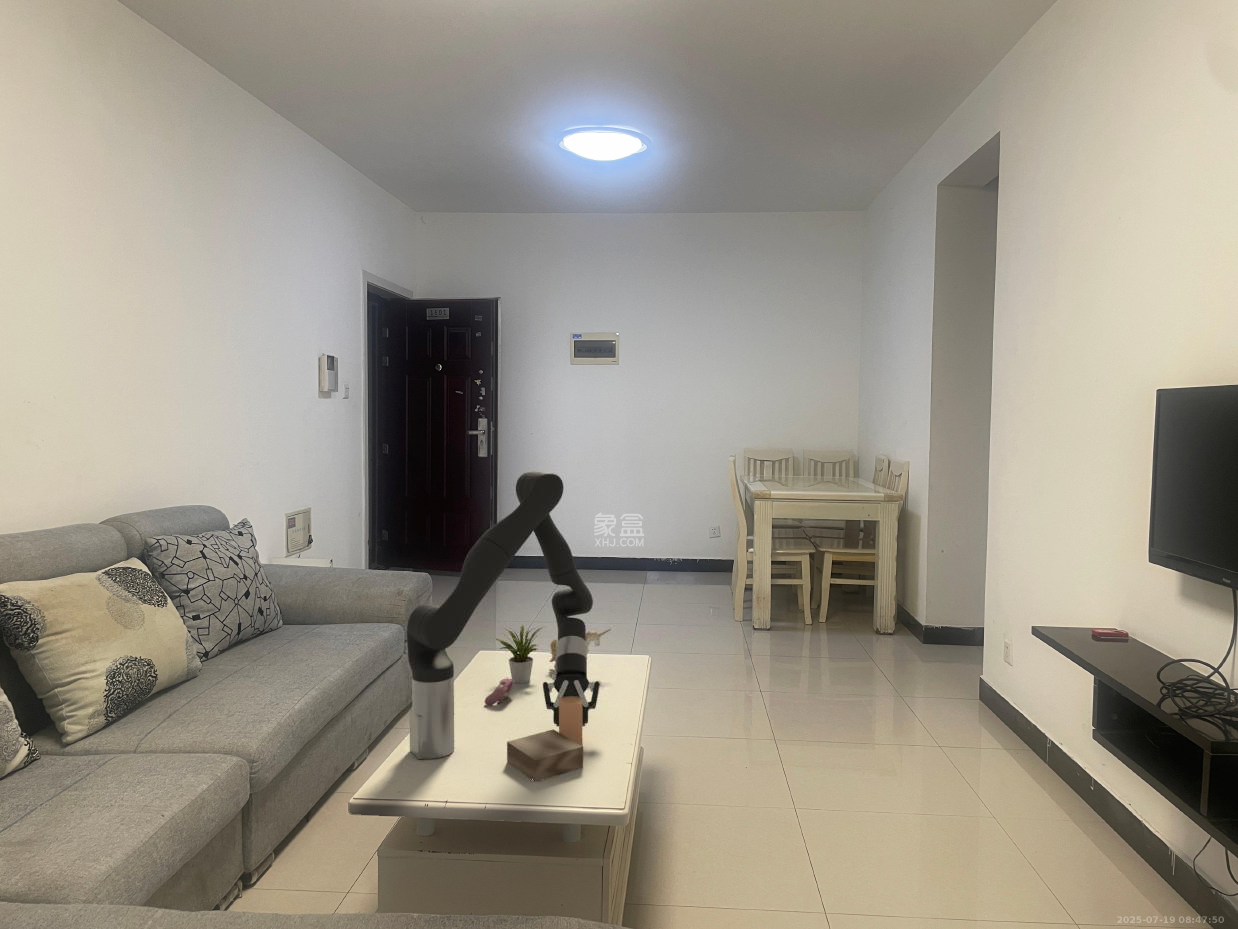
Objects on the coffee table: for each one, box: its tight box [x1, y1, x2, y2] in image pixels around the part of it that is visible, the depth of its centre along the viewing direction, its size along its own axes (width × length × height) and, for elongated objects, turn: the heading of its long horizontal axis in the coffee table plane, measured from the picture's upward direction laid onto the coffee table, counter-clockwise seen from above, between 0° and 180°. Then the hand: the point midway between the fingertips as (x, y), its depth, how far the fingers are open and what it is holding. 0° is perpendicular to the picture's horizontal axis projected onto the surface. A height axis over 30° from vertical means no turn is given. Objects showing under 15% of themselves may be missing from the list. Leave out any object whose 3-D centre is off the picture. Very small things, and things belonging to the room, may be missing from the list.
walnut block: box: [506, 729, 584, 782], centre depth 173 cm, size 12×12×5 cm
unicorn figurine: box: [548, 628, 612, 671], centre depth 238 cm, size 7×20×13 cm, turn 75°
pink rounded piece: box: [484, 677, 516, 706], centre depth 214 cm, size 10×5×7 cm, turn 169°
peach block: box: [558, 696, 583, 746], centre depth 186 cm, size 5×5×10 cm
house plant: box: [495, 623, 546, 684], centre depth 232 cm, size 14×14×16 cm
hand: (570, 724), depth 184 cm, fingers closed on peach block, 5 cm apart
